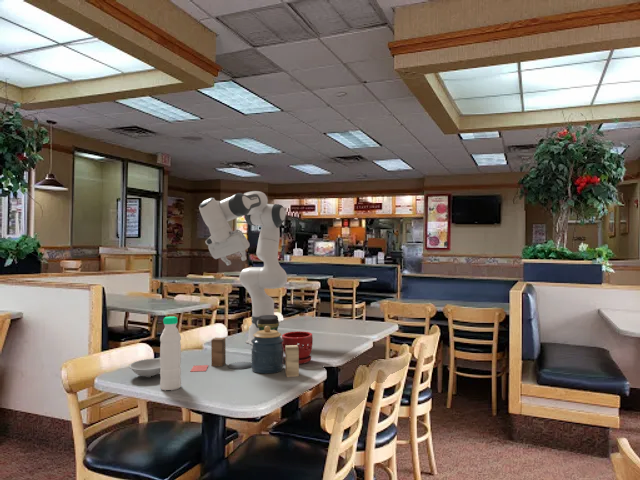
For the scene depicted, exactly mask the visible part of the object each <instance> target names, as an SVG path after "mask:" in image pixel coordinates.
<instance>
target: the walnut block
mask: <svg viewBox="0 0 640 480" xmlns="http://www.w3.org/2000/svg"><path fill="white" fill-rule="evenodd" d="M210 340H211V348H210V349H211V351H210V352H211V355H210V356H211V367H223V366H225V365H226V362H227V361H226V351H227V350H226V337H214V338H212V339H210Z"/></svg>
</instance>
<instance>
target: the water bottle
mask: <svg viewBox="0 0 640 480" xmlns="http://www.w3.org/2000/svg"><path fill="white" fill-rule="evenodd" d="M162 323H163V326H164V329H162V333H161V335H160V337H159V342H160V348H159V359H160V365H161V370H160V373H159V374H160V375H159V376H160V380H159V387H160V389H161V390H162V391H166V390H171V391H176V390H178V389H180V388H181V387H182V377H181V376H182V368H181V364H182V363H181V362H182V347H181V346H182V344H181V340H182V337H181V333H180V332H179V329H178V327H177V325H178V317H177V316H174V315H173V316H165V317H164V318H163V320H162Z"/></svg>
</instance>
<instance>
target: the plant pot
mask: <svg viewBox="0 0 640 480" xmlns="http://www.w3.org/2000/svg"><path fill="white" fill-rule="evenodd" d="M281 336H282V339H283V342H282V347H283V354H285V346H287V345H297V346H298V347H299V365H301V364H307V363H309V362H310V361H311V360H312V355H311V353H312V350H313V345H314V344H313V341H314V339H313V333H311V332H309V331H288V332H285V333H283V334H281ZM283 360H285V356H283Z"/></svg>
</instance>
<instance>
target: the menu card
mask: <svg viewBox="0 0 640 480" xmlns="http://www.w3.org/2000/svg"><path fill="white" fill-rule="evenodd" d="M208 367H209V365H208V364H207V365H206V364H202V365H193V366H192V368H191V370H190V372H191V373H198V372H207V370H208Z"/></svg>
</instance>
